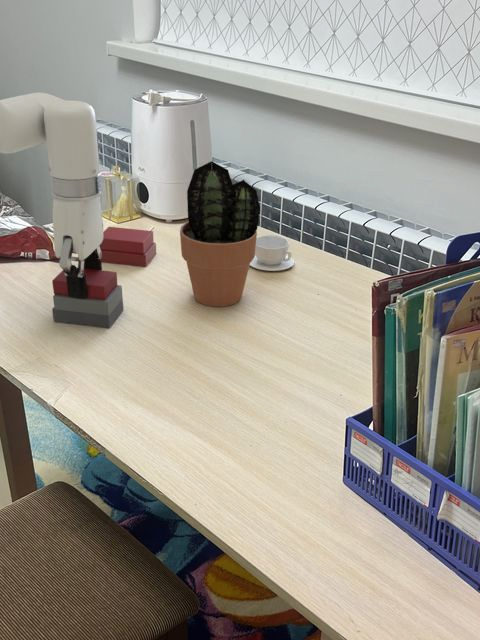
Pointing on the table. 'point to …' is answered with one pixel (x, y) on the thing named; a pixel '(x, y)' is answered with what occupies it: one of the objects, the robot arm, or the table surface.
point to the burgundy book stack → (127, 246)
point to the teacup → (272, 253)
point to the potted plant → (219, 235)
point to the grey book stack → (88, 309)
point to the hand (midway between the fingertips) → (85, 287)
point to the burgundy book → (89, 283)
